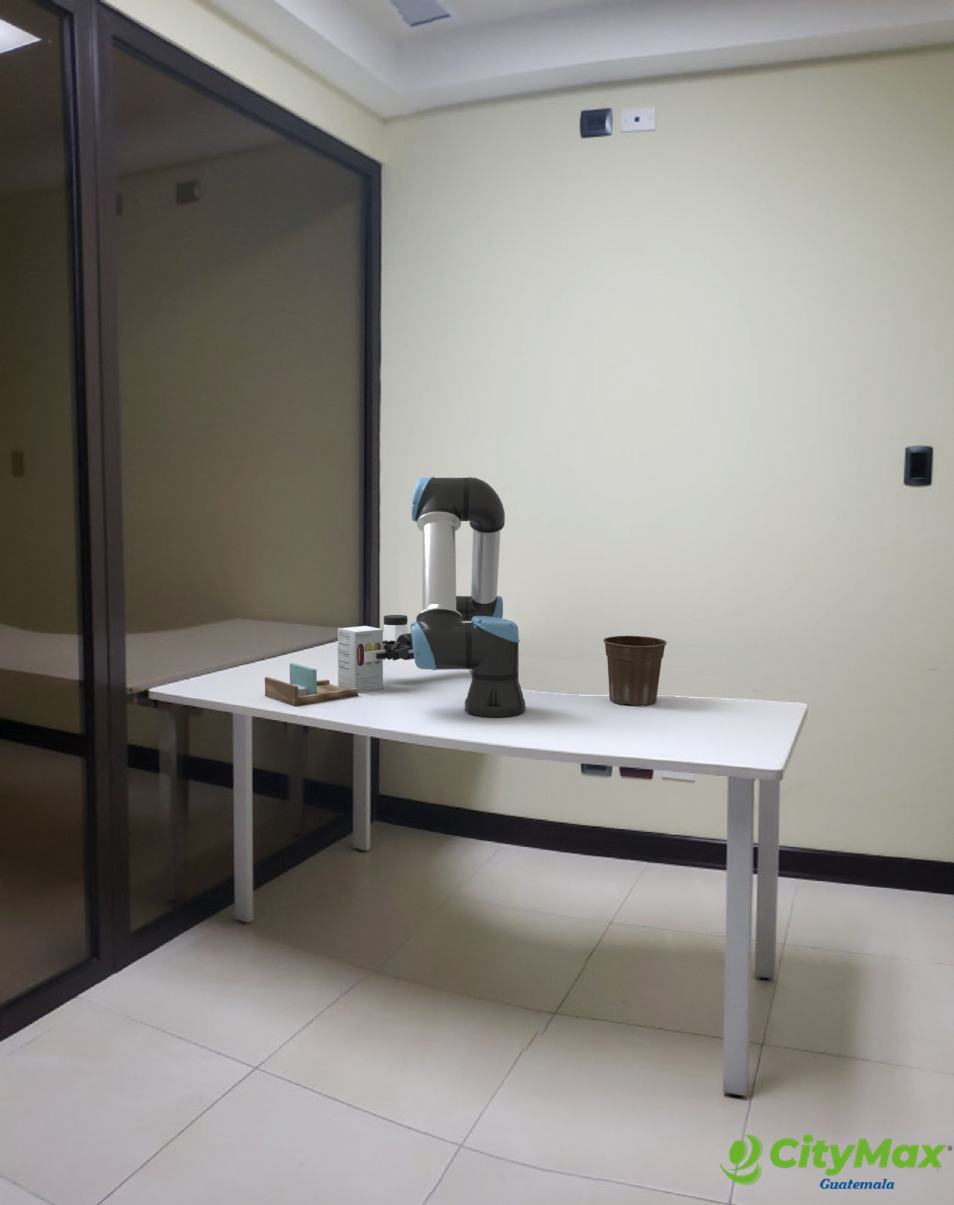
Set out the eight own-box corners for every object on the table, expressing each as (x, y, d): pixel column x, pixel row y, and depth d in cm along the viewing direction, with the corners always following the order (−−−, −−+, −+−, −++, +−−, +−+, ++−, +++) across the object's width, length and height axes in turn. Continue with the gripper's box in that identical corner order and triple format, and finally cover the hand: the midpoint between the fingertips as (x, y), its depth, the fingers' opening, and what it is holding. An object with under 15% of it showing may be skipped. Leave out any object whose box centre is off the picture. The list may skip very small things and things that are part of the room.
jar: (389, 654, 317) (389, 618, 315) (378, 650, 323) (378, 615, 322) (413, 651, 321) (412, 616, 320) (401, 648, 328) (401, 614, 327)
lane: (326, 686, 264) (326, 668, 263) (358, 696, 252) (357, 677, 251) (265, 695, 252) (264, 677, 251) (294, 706, 239) (294, 686, 239)
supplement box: (354, 693, 255) (354, 631, 253) (336, 687, 262) (336, 627, 260) (384, 688, 261) (383, 628, 259) (366, 683, 268) (365, 624, 266)
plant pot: (678, 703, 244) (680, 642, 242) (630, 711, 235) (632, 647, 233) (636, 692, 257) (637, 633, 255) (589, 699, 249) (590, 638, 247)
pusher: (294, 688, 255) (293, 662, 254) (316, 695, 246) (316, 669, 245) (282, 690, 252) (281, 664, 252) (304, 697, 243) (304, 671, 242)
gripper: (440, 664, 263) (376, 674, 250) (389, 653, 282) (327, 661, 269) (440, 638, 262) (376, 646, 249) (389, 628, 281) (327, 634, 268)
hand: (351, 653), depth 259 cm, fingers open, 13 cm apart
